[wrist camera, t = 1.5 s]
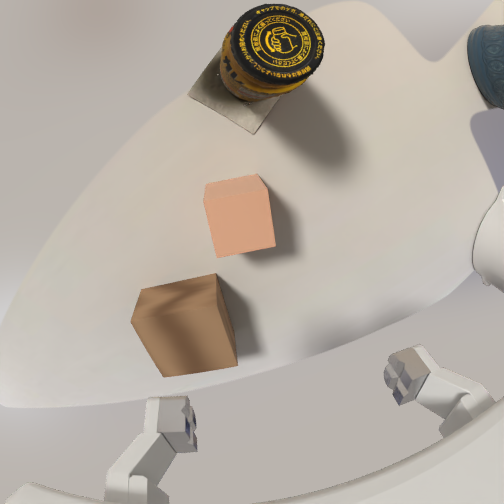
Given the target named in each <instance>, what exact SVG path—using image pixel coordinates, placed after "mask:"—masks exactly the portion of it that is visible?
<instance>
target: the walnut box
mask: <svg viewBox="0 0 504 504" xmlns="http://www.w3.org/2000/svg"><path fill="white" fill-rule="evenodd" d="M131 324H132V325H133V327H134V329H135V331H136V333H137V334H138V336H139V338H140V340H141V341H142V343H143V345H144V346H145V348H146V350H147V352H148V353H149V355H150V356H151V358H152V360H153V361H154V363H155V365H156V366H157V368H158V369H159V371H160V373H161V374H162V376H163V377H171V376H179V375H186V374H193V373H200V372H206V371H212V370H218V369H224V368H229V367H234V366H238V362H237V353H236V344H235V335H234V330H233V327H232V324H231V320H230V317H229V314H228V311H227V308H226V305H225V301H224V298H223V295H222V292H221V288H220V285H219V282H218V278H217V275H216V273H215V274H210V275H206V276H201V277H197V278H192V279H187V280H183V281H178V282H174V283H169V284H164V285H160V286H155V287H150V288H146V289H141V292H140V295H139V298H138V301H137V304H136V307H135V310H134V313H133V316H132V319H131Z"/></svg>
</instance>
